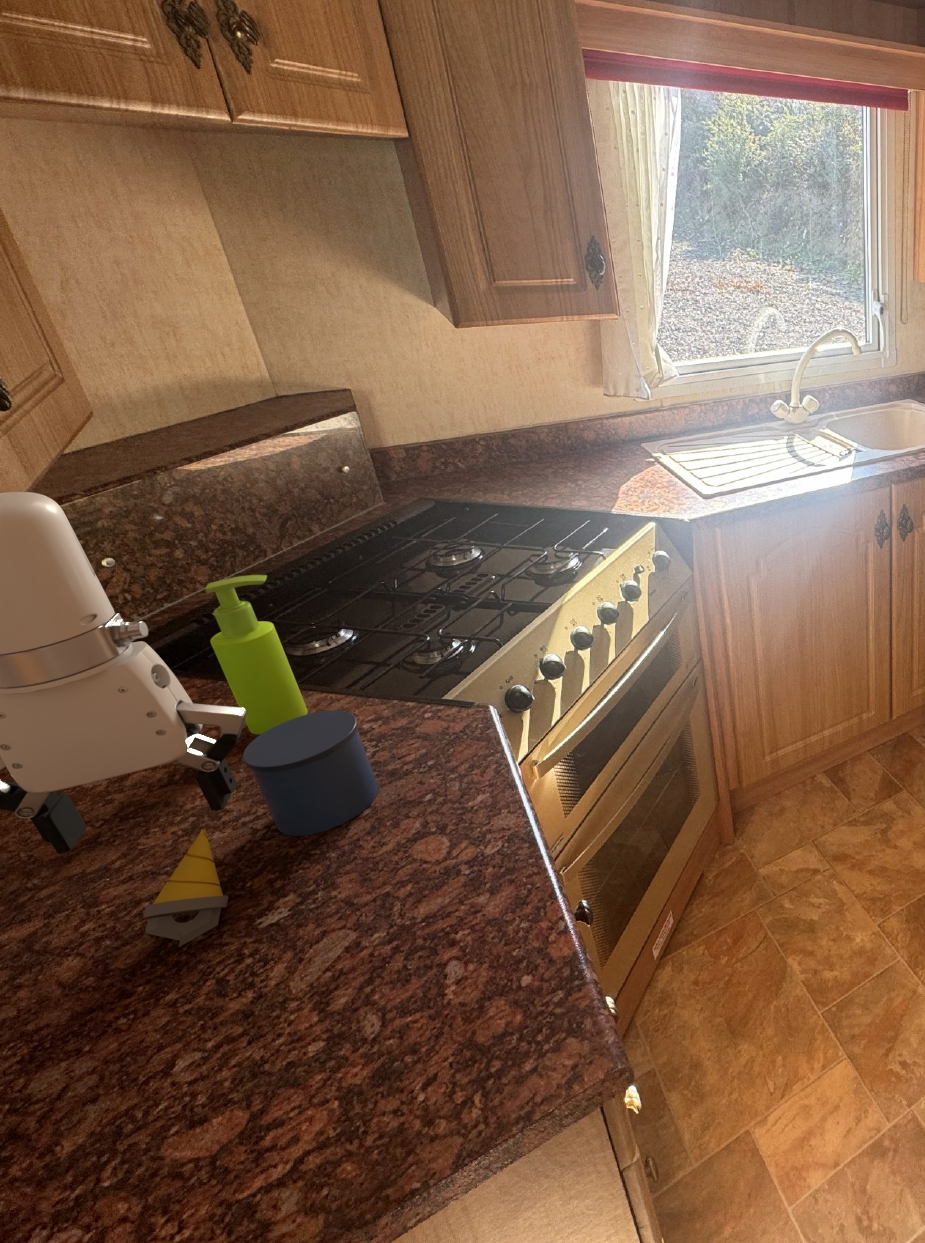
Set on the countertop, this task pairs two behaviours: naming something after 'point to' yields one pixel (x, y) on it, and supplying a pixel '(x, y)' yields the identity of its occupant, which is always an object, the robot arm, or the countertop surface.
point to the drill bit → (188, 896)
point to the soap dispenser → (253, 659)
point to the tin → (312, 772)
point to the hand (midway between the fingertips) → (151, 820)
